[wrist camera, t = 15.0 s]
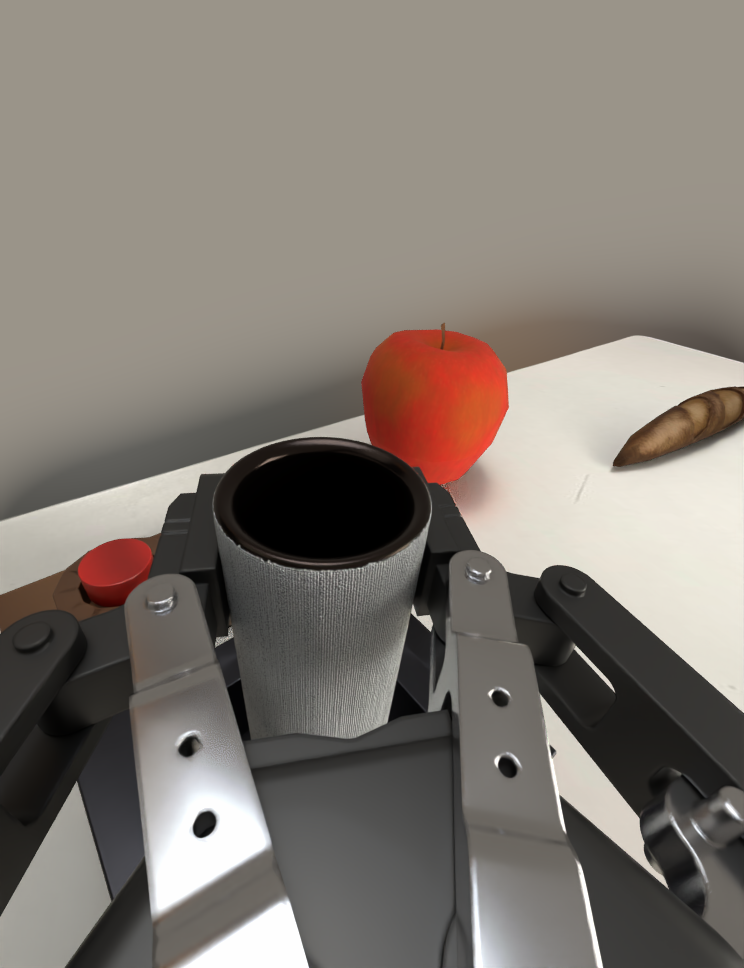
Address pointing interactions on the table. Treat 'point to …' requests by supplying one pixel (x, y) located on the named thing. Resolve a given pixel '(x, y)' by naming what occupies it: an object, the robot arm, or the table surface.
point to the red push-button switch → (56, 595)
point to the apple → (434, 400)
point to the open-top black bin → (113, 762)
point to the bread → (684, 425)
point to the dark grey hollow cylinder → (320, 580)
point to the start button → (115, 570)
